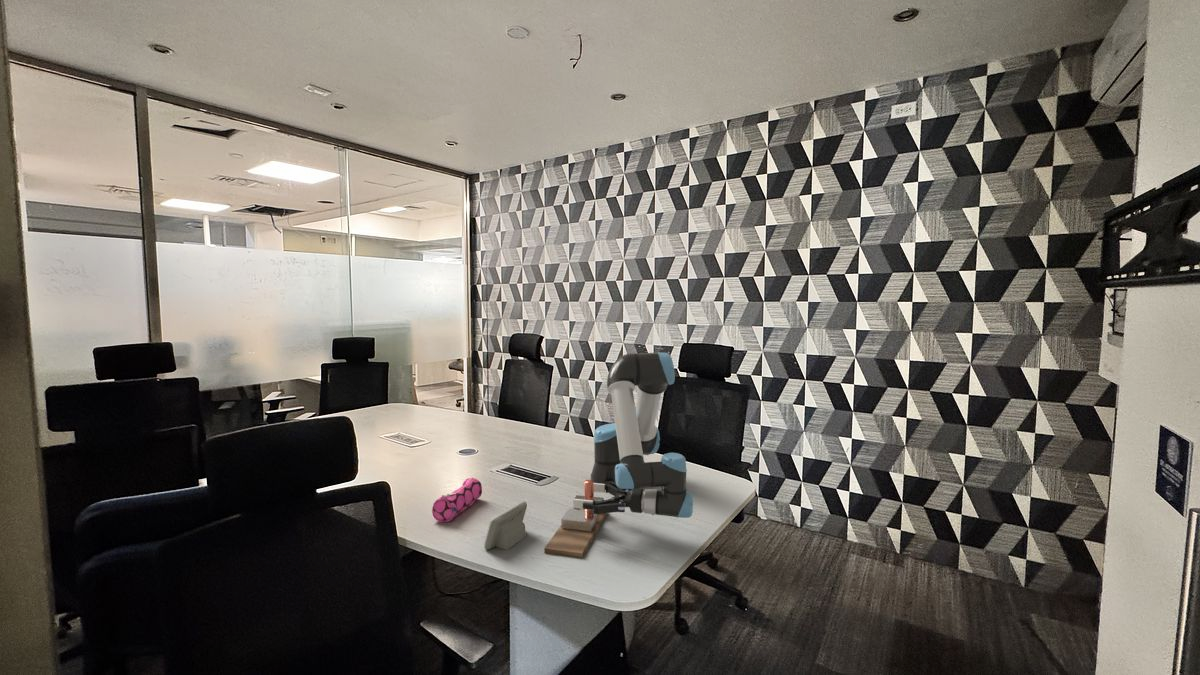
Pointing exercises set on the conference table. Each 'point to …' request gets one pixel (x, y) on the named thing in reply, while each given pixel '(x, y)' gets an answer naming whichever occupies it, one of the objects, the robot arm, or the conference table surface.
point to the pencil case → (457, 500)
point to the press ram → (581, 513)
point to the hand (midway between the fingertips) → (580, 494)
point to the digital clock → (507, 528)
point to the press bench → (573, 537)
